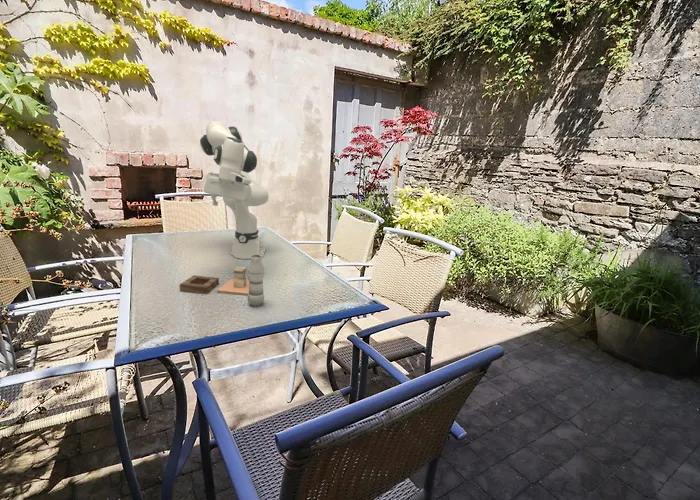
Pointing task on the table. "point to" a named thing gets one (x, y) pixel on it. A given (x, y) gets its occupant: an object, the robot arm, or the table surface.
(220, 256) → the table surface
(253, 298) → the plastic bottle
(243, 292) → the terracotta tile
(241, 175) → the robot arm
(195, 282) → the walnut collar holder
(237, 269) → the block
